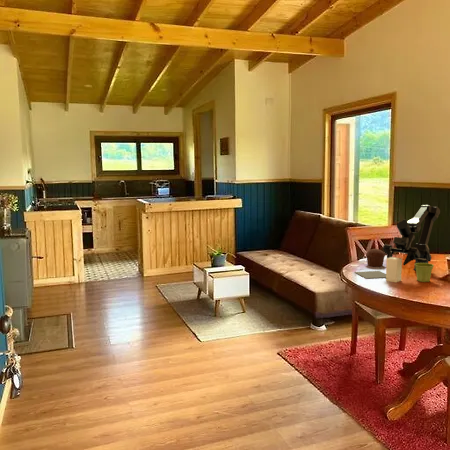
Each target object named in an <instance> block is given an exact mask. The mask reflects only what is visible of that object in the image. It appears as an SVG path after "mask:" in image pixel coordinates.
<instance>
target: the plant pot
mask: <svg viewBox="0 0 450 450" xmlns="http://www.w3.org/2000/svg"><path fill="white" fill-rule="evenodd" d="M413 264H414V265H413V266H415V268H416V270H415V273H416V280H417V281H418V282H422V283H429V282H430V281H431V276H432V271H433V268H434V266H435V265H434V264H433V263H430V262H428V263H415V262H414V263H413Z"/></svg>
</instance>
